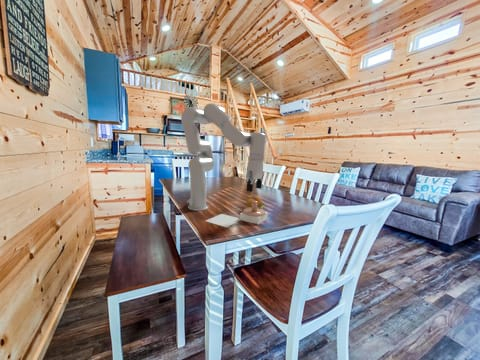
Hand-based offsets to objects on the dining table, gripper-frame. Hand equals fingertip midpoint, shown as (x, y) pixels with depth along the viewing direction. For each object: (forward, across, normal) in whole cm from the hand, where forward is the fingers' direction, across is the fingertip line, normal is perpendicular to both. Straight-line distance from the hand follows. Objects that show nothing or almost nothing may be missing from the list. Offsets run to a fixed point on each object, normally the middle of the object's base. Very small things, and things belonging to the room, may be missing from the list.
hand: (254, 189), depth 111 cm
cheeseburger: (+17, -14, -6) cm, 23 cm away
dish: (+16, 0, +1) cm, 17 cm away
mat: (+17, +11, -11) cm, 23 cm away
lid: (+12, 0, +1) cm, 13 cm away
